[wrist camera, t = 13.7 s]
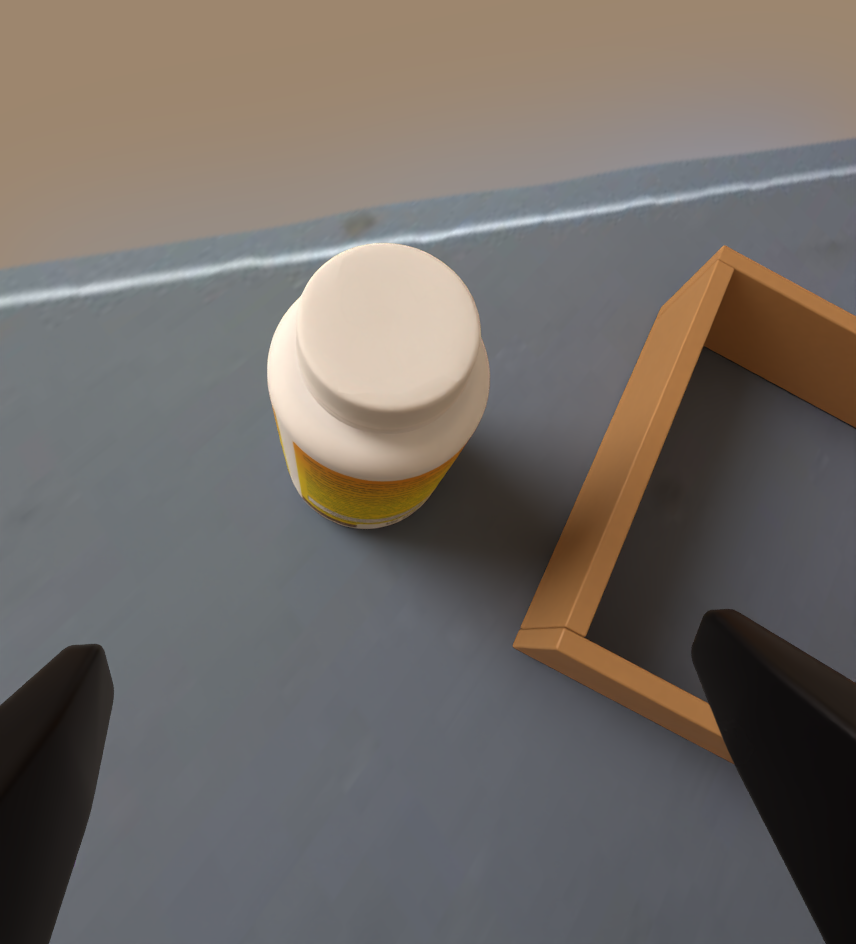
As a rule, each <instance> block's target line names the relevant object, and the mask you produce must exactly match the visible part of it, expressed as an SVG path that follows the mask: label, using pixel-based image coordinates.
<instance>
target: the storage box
mask: <svg viewBox="0 0 856 944" xmlns="http://www.w3.org/2000/svg"><path fill="white" fill-rule="evenodd" d="M703 346H705V347H707V348H709V349H711V350H712V351H714V352H716V353H718V354H720V355H722V356H724V357H725V358H727V359H729V360H731V361H733V362H735V363H737V364H738V365H740V366H742V367H744V368H746V369H748V370H750V371H751V372H753V373H755V374H757V375H759V376H761V377H763V378H764V379H766V380H768V381H770V382H772V383H774V384H775V385H777V386H779V387H781V388H783V389H785V390H787V391H788V392H790V393H792V394H794V395H796V396H798V397H800V398H801V399H803V400H805V401H807V402H809V403H811V404H813V405H814V406H816V407H818V408H820V409H822V410H824V411H826V412H827V413H829V414H831V415H833V416H835V417H837V418H839V419H840V420H842V421H844V422H846V423H848V424H850V425H851V426H853V427H855V428H856V316H854V315H852V314H850V313H849V312H847V311H845V310H843V309H841V308H839V307H837V306H836V305H834V304H832V303H830V302H828V301H826V300H825V299H823V298H821V297H819V296H817V295H815V294H814V293H812V292H810V291H808V290H806V289H804V288H802V287H801V286H799V285H797V284H795V283H793V282H791V281H790V280H788V279H786V278H784V277H782V276H780V275H779V274H777V273H775V272H773V271H771V270H769V269H767V268H766V267H764V266H762V265H760V264H758V263H756V262H755V261H753V260H751V259H749V258H747V257H745V256H743V255H742V254H740V253H738V252H736V251H734V250H732V249H731V248H729V247H727V246H723V247H722V248H721V249H720V250H719V251H718V252H717V253H716V254H715V255H714V256H713V257H712V258H711V259H710V260H709V261H708V262H707V263H706V264H705V265H704V266H703V267H702V268H701V269H700V270H699V271H698V272H697V273H696V274H695V275H693V276H692V277H691V278H690V279H689V280H688V281H687V282H686V283H685V284H684V285H683V286H682V287H681V288H680V289H679V290H678V291H677V292H676V293H675V294H674V295H673V296H672V297H671V298H670V299H669V300H668V301H667V302H666V303H665V304H664V305H663V306H662V307H661V309H660V311H659V313H658V315H657V318H656V320H655V322H654V324H653V327H652V329H651V331H650V334H649V336H648V338H647V340H646V343H645V345H644V347H643V350H642V352H641V354H640V356H639V359H638V361H637V363H636V365H635V368H634V370H633V372H632V375H631V377H630V379H629V381H628V384H627V386H626V388H625V390H624V393H623V395H622V397H621V400H620V402H619V404H618V406H617V409H616V411H615V413H614V416H613V418H612V420H611V422H610V425H609V427H608V429H607V431H606V434H605V436H604V438H603V441H602V443H601V445H600V447H599V450H598V452H597V454H596V456H595V459H594V461H593V463H592V466H591V468H590V470H589V472H588V475H587V477H586V479H585V482H584V484H583V486H582V488H581V491H580V493H579V495H578V497H577V500H576V502H575V504H574V507H573V509H572V511H571V513H570V516H569V518H568V520H567V522H566V525H565V527H564V529H563V532H562V534H561V536H560V538H559V541H558V543H557V545H556V548H555V550H554V552H553V554H552V557H551V559H550V561H549V563H548V566H547V568H546V570H545V573H544V575H543V577H542V579H541V582H540V584H539V586H538V588H537V591H536V593H535V595H534V598H533V600H532V602H531V604H530V607H529V609H528V611H527V614H526V616H525V618H524V620H523V623H522V625H521V629H520V630H519V632H518V634H517V636H516V639H515V641H514V643H513V647H514V648H515V649H517V650H519V651H521V652H523V653H524V654H526V655H528V656H530V657H532V658H534V659H536V660H538V661H540V662H541V663H543V664H545V665H547V666H549V667H551V668H553V669H555V670H557V671H559V672H560V673H562V674H564V675H566V676H568V677H570V678H572V679H574V680H576V681H577V682H579V683H581V684H583V685H585V686H587V687H589V688H591V689H593V690H595V691H596V692H598V693H600V694H602V695H604V696H606V697H608V698H610V699H612V700H613V701H615V702H617V703H619V704H621V705H623V706H625V707H627V708H629V709H630V710H632V711H634V712H636V713H638V714H640V715H642V716H644V717H646V718H648V719H649V720H651V721H653V722H655V723H657V724H659V725H661V726H663V727H665V728H666V729H668V730H670V731H672V732H674V733H676V734H678V735H680V736H682V737H683V738H685V739H687V740H689V741H691V742H693V743H695V744H697V745H699V746H701V747H702V748H704V749H706V750H708V751H710V752H712V753H714V754H716V755H718V756H719V757H721V758H723V759H725V760H727V761H729V762H731V763H733V764H734V762H733V760H732V758H731V756H730V754H729V752H728V750H727V747H726V745H725V743H724V740H723V738H722V736H721V733H720V730H719V728H718V725H717V723H716V720H715V718H714V715H713V713H712V710H711V708H710V705H709V703H707V702H705V701H703V700H701V699H699V698H697V697H695V696H694V695H692V694H690V693H688V692H686V691H684V690H682V689H680V688H678V687H677V686H675V685H673V684H671V683H669V682H667V681H665V680H663V679H661V678H660V677H658V676H656V675H654V674H652V673H650V672H648V671H646V670H644V669H643V668H641V667H639V666H637V665H635V664H633V663H631V662H629V661H627V660H626V659H624V658H622V657H620V656H618V655H616V654H614V653H612V652H610V651H609V650H607V649H605V648H603V647H601V646H599V645H597V644H595V643H593V642H592V641H590V640H588V639H586V638H584V637H585V636H586V635H587V632H588V630H589V627H590V625H591V622H592V620H593V617H594V615H595V612H596V610H597V607H598V605H599V603H600V600H601V598H602V595H603V593H604V590H605V588H606V585H607V583H608V580H609V578H610V575H611V573H612V570H613V568H614V565H615V563H616V561H617V558H618V556H619V553H620V551H621V548H622V546H623V543H624V541H625V538H626V536H627V533H628V531H629V528H630V526H631V524H632V521H633V519H634V516H635V514H636V511H637V509H638V506H639V504H640V501H641V499H642V496H643V494H644V491H645V489H646V486H647V484H648V482H649V479H650V477H651V474H652V472H653V469H654V467H655V464H656V462H657V459H658V457H659V454H660V452H661V449H662V447H663V445H664V442H665V440H666V437H667V435H668V432H669V430H670V427H671V425H672V422H673V420H674V417H675V415H676V412H677V410H678V407H679V405H680V403H681V400H682V398H683V395H684V393H685V390H686V388H687V385H688V383H689V380H690V378H691V375H692V373H693V370H694V368H695V366H696V363H697V361H698V358H699V356H700V353H701V351H702V348H703Z"/></svg>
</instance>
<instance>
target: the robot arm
mask: <svg viewBox="0 0 856 944" xmlns="http://www.w3.org/2000/svg"><path fill="white" fill-rule="evenodd" d="M691 656H692V661H693V664H694V667H695V669H696V672H697V674H698V677H699V680H700V682H701V685H702V687H703V690H704V692H705V695H706V697H707V700H708V702H709V705H710V708H711V710H712V713H713V715H714V718H715V720H716V723H717V725H718V728H719V730H720V733H721V736H722V738H723V740H724V743H725V745H726V747H727V750H728V752H729V754H730V756H731V758H732V760H733V762H734V764H735V766H736V768H737V770H738V772H739V774H740V776H741V778H742V780H743V782H744V784H745V786H746V788H747V790H748V792H749V794H750V796H751V798H752V800H753V802H754V804H755V806H756V808H757V810H758V812H759V814H760V816H761V818H762V819H763V821H764V823H765V825H766V827H767V829H768V831H769V833H770V835H771V837H772V839H773V841H774V843H775V845H776V847H777V849H778V851H779V853H780V855H781V857H782V859H783V861H784V863H785V865H786V867H787V868H788V870H789V872H790V874H791V876H792V878H793V880H794V882H795V884H796V886H797V888H798V890H799V892H800V894H801V896H802V898H803V900H804V902H805V904H806V906H807V908H808V910H809V912H810V914H811V916H812V917H813V919H814V921H815V923H816V925H817V927H818V929H819V931H820V933H821V935H822V937H823V939H824V941H825V943H826V944H856V683H855V682H853V681H851V680H850V679H848V678H846V677H845V676H843V675H841V674H840V673H838V672H836V671H835V670H833V669H832V668H830V667H828V666H827V665H825V664H823V663H822V662H820V661H818V660H817V659H815V658H813V657H812V656H810V655H808V654H807V653H805V652H803V651H802V650H800V649H799V648H797V647H795V646H794V645H792V644H790V643H789V642H787V641H785V640H784V639H782V638H780V637H779V636H777V635H775V634H774V633H772V632H770V631H769V630H767V629H765V628H764V627H762V626H761V625H759V624H757V623H756V622H754V621H752V620H751V619H749V618H747V617H746V616H744V615H742V614H741V613H739V612H737V611H735V610H732V609H720V610H710V611H707V612H706V613H705V614H704V616H703V618H702V621H701V623H700V626H699V629H698V631H697V634H696V637H695V639H694V642H693V645H692V650H691ZM113 698H114V687H113V682H112V678H111V674H110V670H109V667H108V663H107V659H106V655H105V652H104V649H103V648H102V646H100V645H98V644H85V645H72V646H68V647H67V648H65V649H64V650H62V651H61V652H60V653H59V654H58V655H57V656H56V657H54V658H53V659H52V660H51V661H50V662H49V663H48V664H47V665H45V666H44V667H43V668H42V669H41V670H40V671H39V672H38V673H36V674H35V675H34V676H33V677H32V678H31V679H30V680H28V681H27V682H26V683H25V684H24V685H23V686H22V687H21V688H19V689H18V690H17V691H16V692H15V693H14V694H13V695H12V696H10V697H9V698H8V699H7V700H6V701H5V702H4V703H3V704H1V705H0V944H49V941H50V938H51V935H52V932H53V929H54V926H55V923H56V920H57V916H58V913H59V910H60V907H61V904H62V901H63V898H64V895H65V892H66V888H67V885H68V882H69V879H70V876H71V873H72V870H73V867H74V864H75V860H76V857H77V854H78V851H79V848H80V845H81V842H82V839H83V835H84V832H85V829H86V826H87V822H88V819H89V815H90V812H91V808H92V803H93V799H94V794H95V789H96V784H97V779H98V774H99V769H100V765H101V760H102V755H103V750H104V745H105V740H106V735H107V730H108V725H109V720H110V715H111V710H112V705H113Z"/></svg>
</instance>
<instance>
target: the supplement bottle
mask: <svg viewBox="0 0 856 944" xmlns="http://www.w3.org/2000/svg"><path fill="white" fill-rule="evenodd" d="M267 378H268V388H269V394H270V399H271V403H272V407H273V411H274V415H275V420H276V424H277V429H278V433H279V436H280V441H281V445H282V448H283V452H284V455H285V459H286V463H287V467H288V471H289V474H290V476H291V479H292V481H293V484H294V486H295V487H296V489H297V491H298V493H299V494H300V495H301V497H302V498H303V499H304V501H305V502H306V503H307V504H308V505H309V506H310V507H311V508H312V509H313V510H315V511H316V512H317V513H319V514H320V515H322V516H323V517H325V518H327V519H328V520H331V521H333V522H335V523H337V524H340V525H343V526H346V527H351V528H360V529H372V528H379V527H384V526H388V525H391V524H394V523H397V522H399V521H401V520H403V519H405V518H407V517H408V516H410V515H411V514H412V513H414V512H415V511H416V510H417V509H419V508H420V507H421V506H422V505H423V504H424V503H425V502H426V501H427V499H428V498H429V497H430V495H431V494H432V492H433V491H434V490H435V488H436V487H437V485H438V484H439V482H440V481H441V480H442V478H443V477H444V475H445V474H446V472H447V471H448V470H449V468H450V467H451V465H452V464H453V462H454V461H455V460H456V458H457V457H458V455H459V454H460V452H461V451H462V449H463V448H464V446H465V445H466V443H467V442H468V440H469V439H470V437H471V436H472V435H473V433H474V431H475V430H476V428H477V426H478V424H479V422H480V420H481V418H482V416H483V413H484V410H485V408H486V404H487V400H488V394H489V385H490V370H489V362H488V357H487V353H486V349H485V346H484V343H483V341H482V338H481V326H480V320H479V314H478V311H477V307H476V305H475V302H474V299H473V297H472V295H471V294H470V292H469V290H468V288H467V287H466V285H465V284H464V283H463V281H462V280H461V279H460V278H459V277H458V275H457V274H456V273H455V272H454V271H453V270H452V269H451V268H449V267H448V266H447V265H446V264H445V263H443V262H442V261H440V260H439V259H437V258H435V257H433V256H432V255H430V254H428V253H426V252H424V251H421V250H419V249H416V248H413V247H409V246H405V245H400V244H392V243H376V244H366V245H362V246H358V247H354V248H351V249H349V250H347V251H344V252H342V253H340V254H338V255H336V256H335V257H333V258H332V259H330V260H329V261H327V262H326V263H325V264H324V265H323V266H321V267H320V268H319V269H318V270H317V271H316V273H315V274H314V275H313V276H312V278H311V279H310V281H309V282H308V284H307V286H306V288H305V289H304V291H303V293H302V296H301V297H300V298H298V299H297V301H296V302H295V303H294V304H293V305H292V306H291V307H290V308H289V310H288V311H287V312H286V314H285V315H284V316H283V318H282V320H281V321H280V323H279V325H278V327H277V329H276V331H275V334H274V336H273V339H272V342H271V346H270V350H269V355H268V365H267Z"/></svg>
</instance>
